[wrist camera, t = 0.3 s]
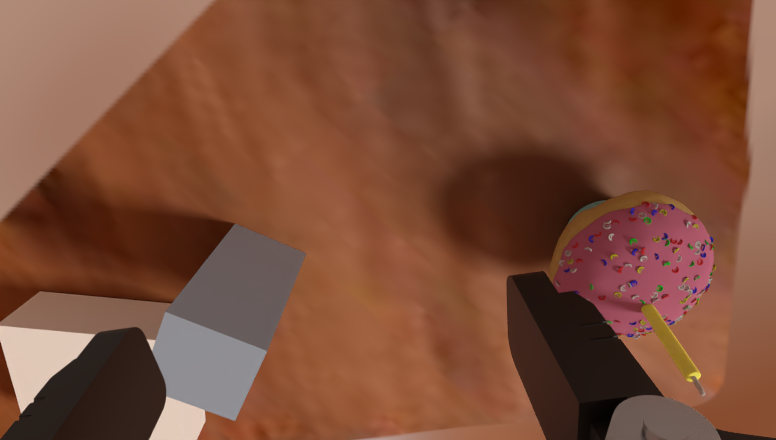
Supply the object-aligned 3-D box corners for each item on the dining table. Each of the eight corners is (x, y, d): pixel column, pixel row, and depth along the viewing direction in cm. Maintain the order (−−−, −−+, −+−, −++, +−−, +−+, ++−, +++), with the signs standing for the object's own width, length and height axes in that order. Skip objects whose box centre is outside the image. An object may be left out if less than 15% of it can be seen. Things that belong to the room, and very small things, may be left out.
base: (40, 291, 34) (-5, 325, 30) (195, 305, 34) (170, 341, 30) (67, 408, 38) (32, 450, 34) (205, 421, 38) (184, 464, 35)
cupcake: (665, 280, 32) (802, 420, 21) (536, 298, 33) (603, 443, 22) (669, 157, 29) (836, 249, 18) (526, 182, 29) (600, 284, 18)
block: (235, 223, 31) (165, 311, 22) (306, 253, 32) (267, 351, 23) (212, 282, 33) (139, 387, 24) (280, 309, 34) (234, 420, 25)
